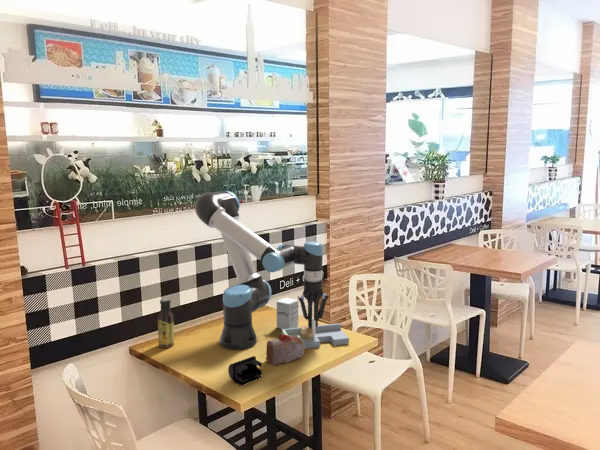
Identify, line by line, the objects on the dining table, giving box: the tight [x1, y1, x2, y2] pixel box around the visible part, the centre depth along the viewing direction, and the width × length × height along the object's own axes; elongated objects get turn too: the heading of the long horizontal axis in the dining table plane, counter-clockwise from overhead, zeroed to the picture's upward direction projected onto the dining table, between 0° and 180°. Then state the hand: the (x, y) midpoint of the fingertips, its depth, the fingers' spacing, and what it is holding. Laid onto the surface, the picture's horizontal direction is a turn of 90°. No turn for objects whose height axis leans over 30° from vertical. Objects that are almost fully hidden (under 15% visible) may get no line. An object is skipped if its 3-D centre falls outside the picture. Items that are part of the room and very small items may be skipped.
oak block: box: [301, 326, 313, 340], centre depth 209 cm, size 4×4×4 cm
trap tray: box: [281, 322, 350, 350], centre depth 210 cm, size 26×11×5 cm, turn 105°
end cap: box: [227, 355, 263, 386], centre depth 177 cm, size 10×7×7 cm
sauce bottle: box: [157, 297, 175, 349], centre depth 206 cm, size 7×6×20 cm
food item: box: [265, 334, 305, 366], centre depth 193 cm, size 14×8×10 cm, turn 121°
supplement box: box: [276, 297, 299, 330], centre depth 226 cm, size 7×7×13 cm
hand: (312, 334), depth 210 cm, fingers closed
